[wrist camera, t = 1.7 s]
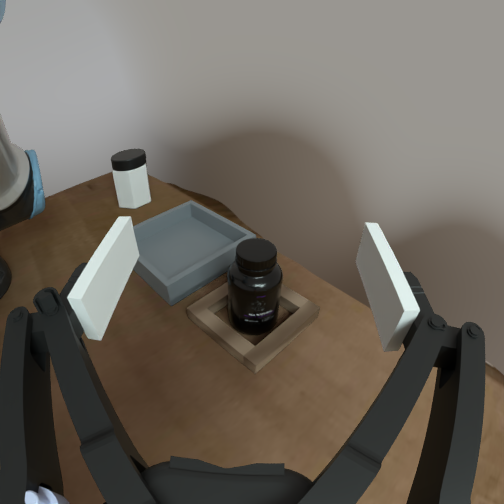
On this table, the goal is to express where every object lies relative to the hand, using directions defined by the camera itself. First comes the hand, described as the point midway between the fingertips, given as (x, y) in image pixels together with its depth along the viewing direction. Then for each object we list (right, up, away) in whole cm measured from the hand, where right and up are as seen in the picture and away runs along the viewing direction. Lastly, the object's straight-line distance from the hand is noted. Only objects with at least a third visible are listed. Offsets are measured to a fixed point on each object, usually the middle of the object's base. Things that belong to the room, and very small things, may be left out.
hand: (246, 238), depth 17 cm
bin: (-12, -1, +38) cm, 40 cm away
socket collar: (0, -10, +26) cm, 28 cm away
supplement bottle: (0, -10, +26) cm, 28 cm away
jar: (-28, +12, +55) cm, 62 cm away
